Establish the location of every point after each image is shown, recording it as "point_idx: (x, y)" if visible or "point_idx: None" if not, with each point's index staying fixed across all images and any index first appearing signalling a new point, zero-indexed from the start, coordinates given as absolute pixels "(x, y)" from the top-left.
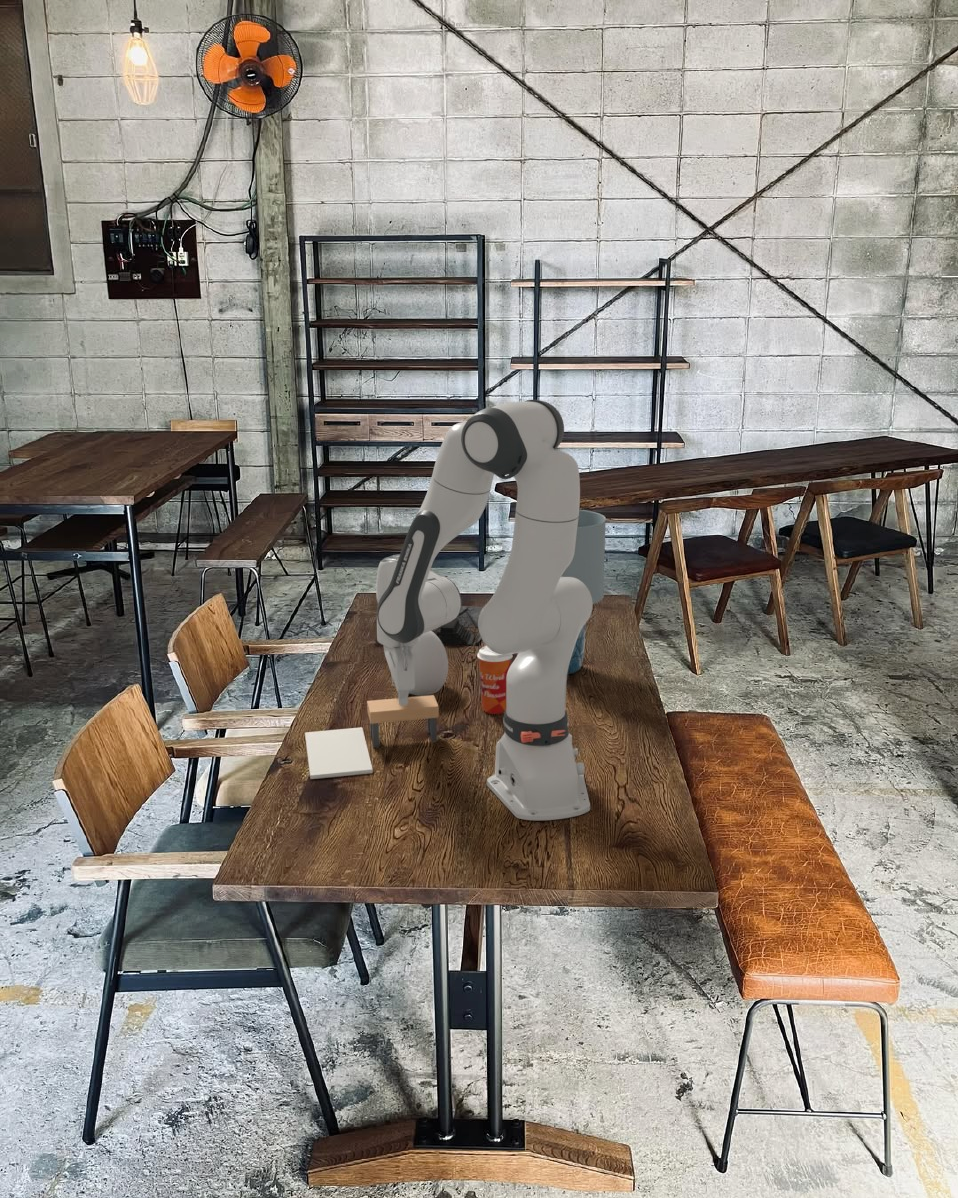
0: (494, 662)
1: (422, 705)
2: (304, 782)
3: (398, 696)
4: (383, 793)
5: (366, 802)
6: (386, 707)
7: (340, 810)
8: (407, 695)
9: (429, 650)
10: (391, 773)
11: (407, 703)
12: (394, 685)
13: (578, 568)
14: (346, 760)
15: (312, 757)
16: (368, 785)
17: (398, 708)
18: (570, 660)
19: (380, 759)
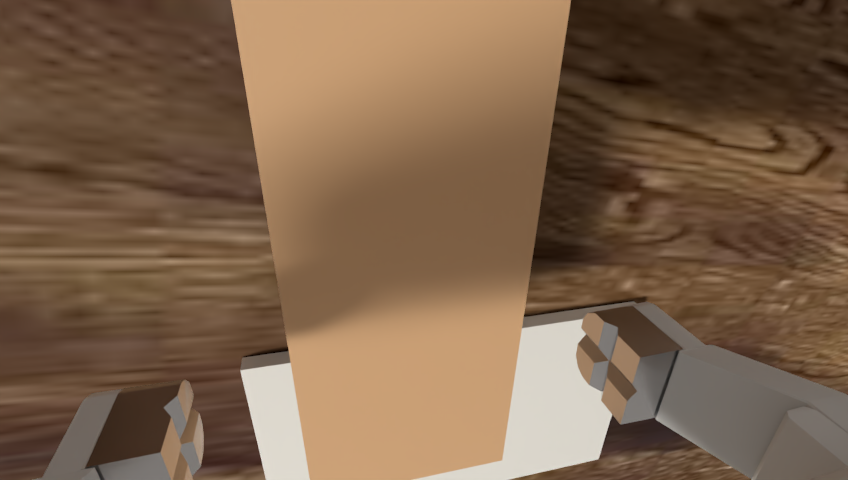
0: None
1: (503, 128)
2: (600, 456)
3: (673, 420)
4: (769, 266)
5: (784, 309)
6: (455, 390)
7: (779, 364)
8: (743, 363)
9: None
10: (664, 241)
11: (652, 304)
12: (200, 441)
13: None
14: (545, 389)
15: (487, 475)
16: (701, 309)
17: (501, 320)
18: None
19: (543, 278)
